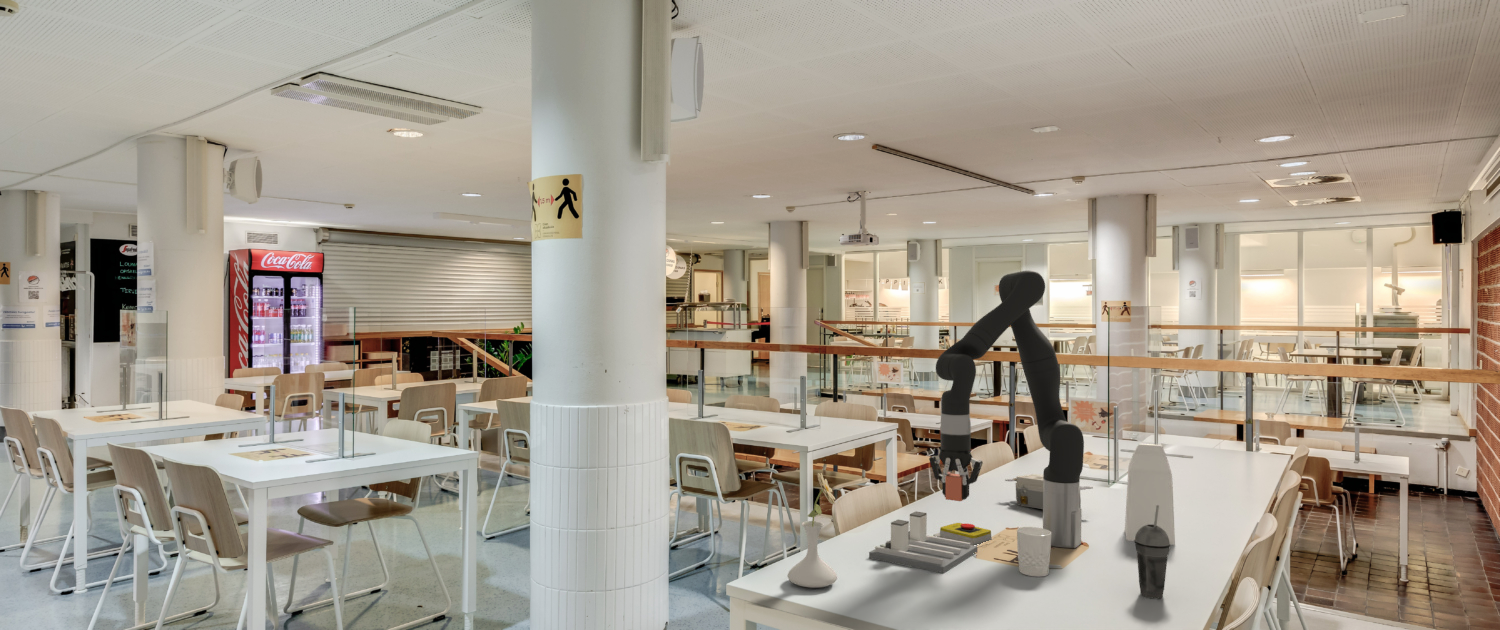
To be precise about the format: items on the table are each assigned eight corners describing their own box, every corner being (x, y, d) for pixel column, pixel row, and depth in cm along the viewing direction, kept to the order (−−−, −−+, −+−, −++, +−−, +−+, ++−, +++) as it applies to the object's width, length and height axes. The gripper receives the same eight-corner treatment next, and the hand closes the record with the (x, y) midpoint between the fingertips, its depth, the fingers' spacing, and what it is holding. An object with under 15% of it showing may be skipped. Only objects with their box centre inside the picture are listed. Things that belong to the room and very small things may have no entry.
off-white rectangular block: (926, 540, 220) (926, 513, 220) (919, 544, 217) (920, 515, 217) (915, 538, 222) (916, 511, 222) (909, 542, 219) (909, 514, 218)
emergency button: (978, 532, 220) (932, 521, 232) (977, 549, 220) (931, 537, 232) (997, 527, 226) (952, 516, 238) (997, 543, 226) (951, 531, 238)
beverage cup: (1127, 589, 187) (1128, 501, 187) (1157, 589, 188) (1158, 501, 188) (1145, 601, 180) (1146, 509, 180) (1176, 600, 181) (1178, 509, 181)
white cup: (1050, 569, 202) (1051, 528, 202) (1051, 579, 194) (1051, 536, 194) (1016, 566, 204) (1017, 525, 204) (1016, 575, 197) (1016, 533, 197)
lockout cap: (960, 501, 210) (960, 477, 210) (945, 499, 212) (945, 476, 212) (966, 498, 213) (966, 475, 213) (951, 496, 216) (951, 473, 216)
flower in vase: (823, 595, 182) (824, 482, 182) (778, 586, 188) (779, 476, 188) (848, 579, 193) (849, 472, 193) (805, 571, 199) (806, 467, 199)
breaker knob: (908, 550, 211) (908, 521, 211) (901, 553, 208) (901, 524, 208) (897, 548, 213) (898, 519, 213) (890, 551, 210) (890, 522, 210)
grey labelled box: (1074, 518, 250) (1072, 485, 250) (1001, 505, 274) (999, 475, 275) (1099, 514, 256) (1097, 481, 256) (1025, 501, 280) (1024, 471, 281)
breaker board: (977, 552, 216) (977, 537, 216) (943, 573, 198) (943, 557, 198) (906, 539, 228) (907, 524, 228) (869, 557, 210) (869, 542, 210)
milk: (1126, 540, 229) (1127, 446, 229) (1124, 530, 240) (1125, 440, 239) (1175, 545, 224) (1176, 449, 224) (1171, 534, 235) (1172, 443, 235)
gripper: (987, 431, 212) (987, 498, 212) (934, 427, 220) (934, 491, 220) (978, 435, 206) (978, 504, 206) (923, 430, 214) (923, 497, 214)
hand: (955, 497), depth 213 cm, fingers closed on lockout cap, 4 cm apart
